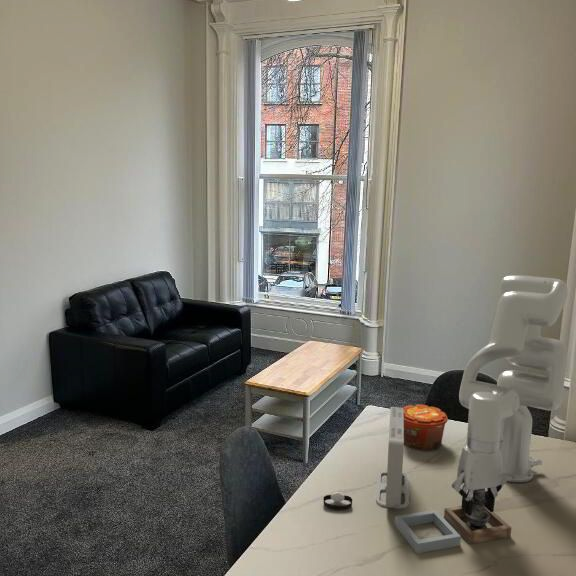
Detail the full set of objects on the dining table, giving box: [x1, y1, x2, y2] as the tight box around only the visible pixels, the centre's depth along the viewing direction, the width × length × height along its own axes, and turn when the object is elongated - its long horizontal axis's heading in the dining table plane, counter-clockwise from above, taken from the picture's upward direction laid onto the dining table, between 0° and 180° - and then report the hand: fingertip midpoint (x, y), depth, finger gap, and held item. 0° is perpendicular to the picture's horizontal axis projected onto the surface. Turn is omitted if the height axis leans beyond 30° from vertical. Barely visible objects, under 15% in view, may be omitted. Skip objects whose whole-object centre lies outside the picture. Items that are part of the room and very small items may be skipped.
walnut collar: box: [443, 505, 512, 545], centre depth 138 cm, size 11×11×2 cm
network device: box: [375, 406, 410, 510], centre depth 153 cm, size 26×9×20 cm, turn 168°
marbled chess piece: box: [465, 488, 490, 531], centre depth 137 cm, size 6×6×12 cm
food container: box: [402, 404, 449, 452], centre depth 184 cm, size 16×16×11 cm
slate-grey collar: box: [394, 509, 462, 554], centre depth 134 cm, size 11×11×2 cm
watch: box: [322, 491, 353, 511], centre depth 146 cm, size 8×5×4 cm, turn 87°
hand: (477, 510), depth 137 cm, fingers open, 5 cm apart
